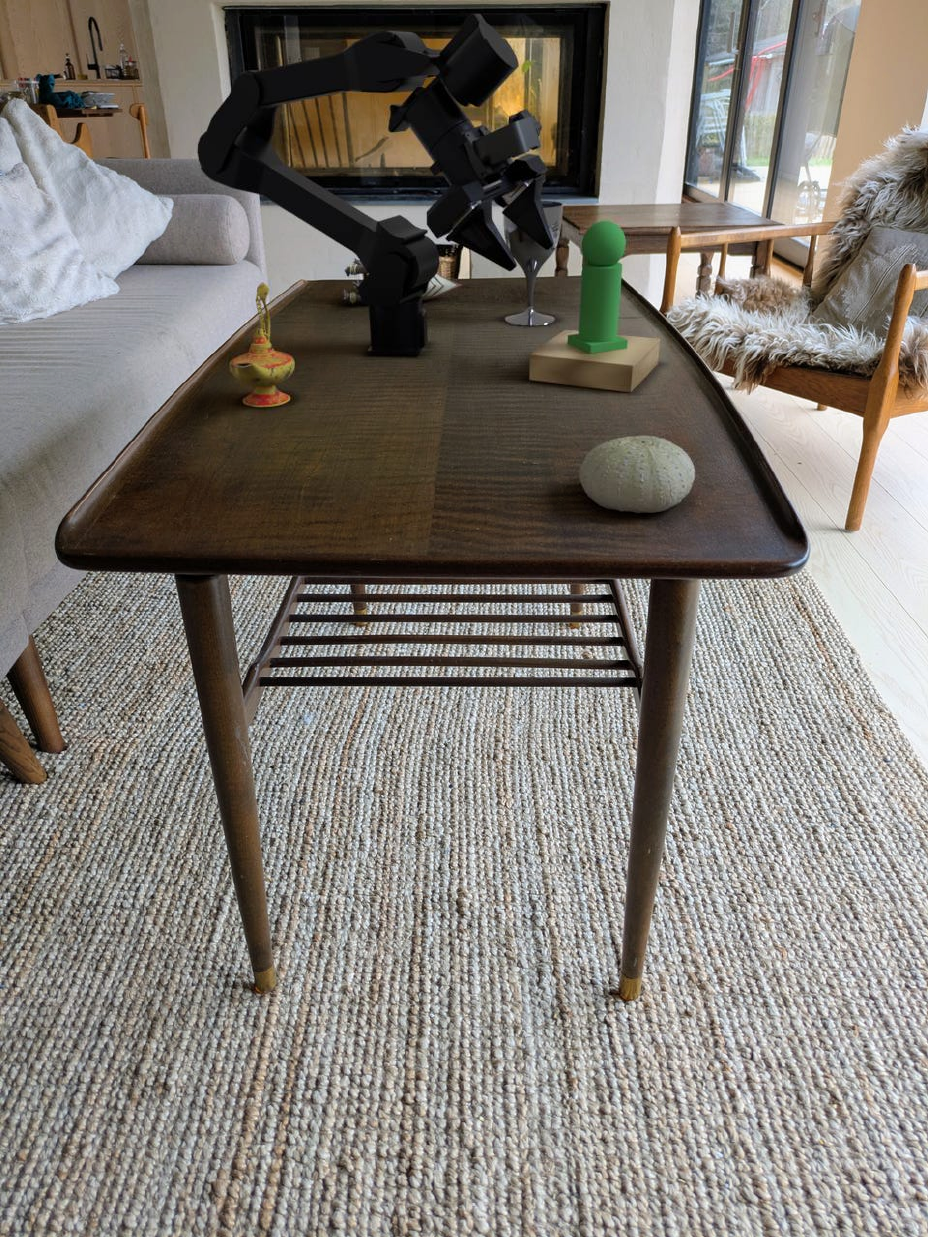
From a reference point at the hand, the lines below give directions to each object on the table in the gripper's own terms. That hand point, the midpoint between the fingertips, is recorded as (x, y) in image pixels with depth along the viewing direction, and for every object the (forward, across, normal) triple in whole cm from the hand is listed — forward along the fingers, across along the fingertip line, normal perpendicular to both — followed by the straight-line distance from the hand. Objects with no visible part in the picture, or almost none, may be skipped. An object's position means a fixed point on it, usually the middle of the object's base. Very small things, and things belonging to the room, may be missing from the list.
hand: (532, 257), depth 103 cm
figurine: (-11, +20, +34) cm, 42 cm away
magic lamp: (-4, -28, +20) cm, 35 cm away
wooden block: (+15, 0, +2) cm, 15 cm away
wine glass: (+4, +19, +17) cm, 26 cm away
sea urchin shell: (+24, -32, -14) cm, 42 cm away
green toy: (+12, 0, 0) cm, 12 cm away
